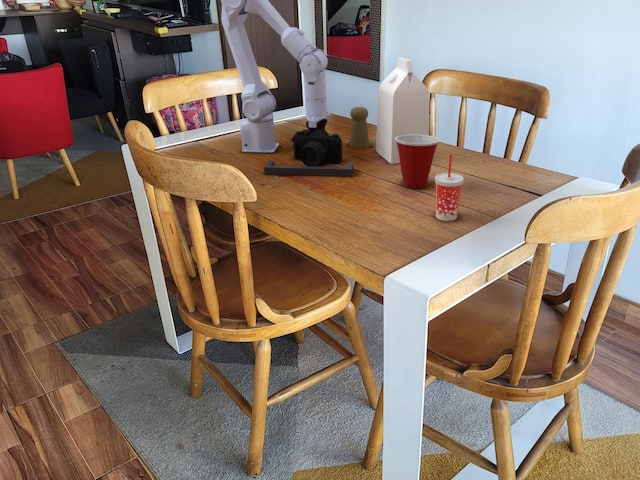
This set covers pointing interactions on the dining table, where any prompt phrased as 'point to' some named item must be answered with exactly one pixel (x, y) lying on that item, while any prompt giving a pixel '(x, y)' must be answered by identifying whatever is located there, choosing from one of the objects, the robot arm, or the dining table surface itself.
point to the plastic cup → (416, 158)
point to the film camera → (317, 147)
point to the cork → (359, 128)
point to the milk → (400, 109)
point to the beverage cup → (448, 194)
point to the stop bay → (308, 170)
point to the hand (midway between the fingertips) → (317, 146)
